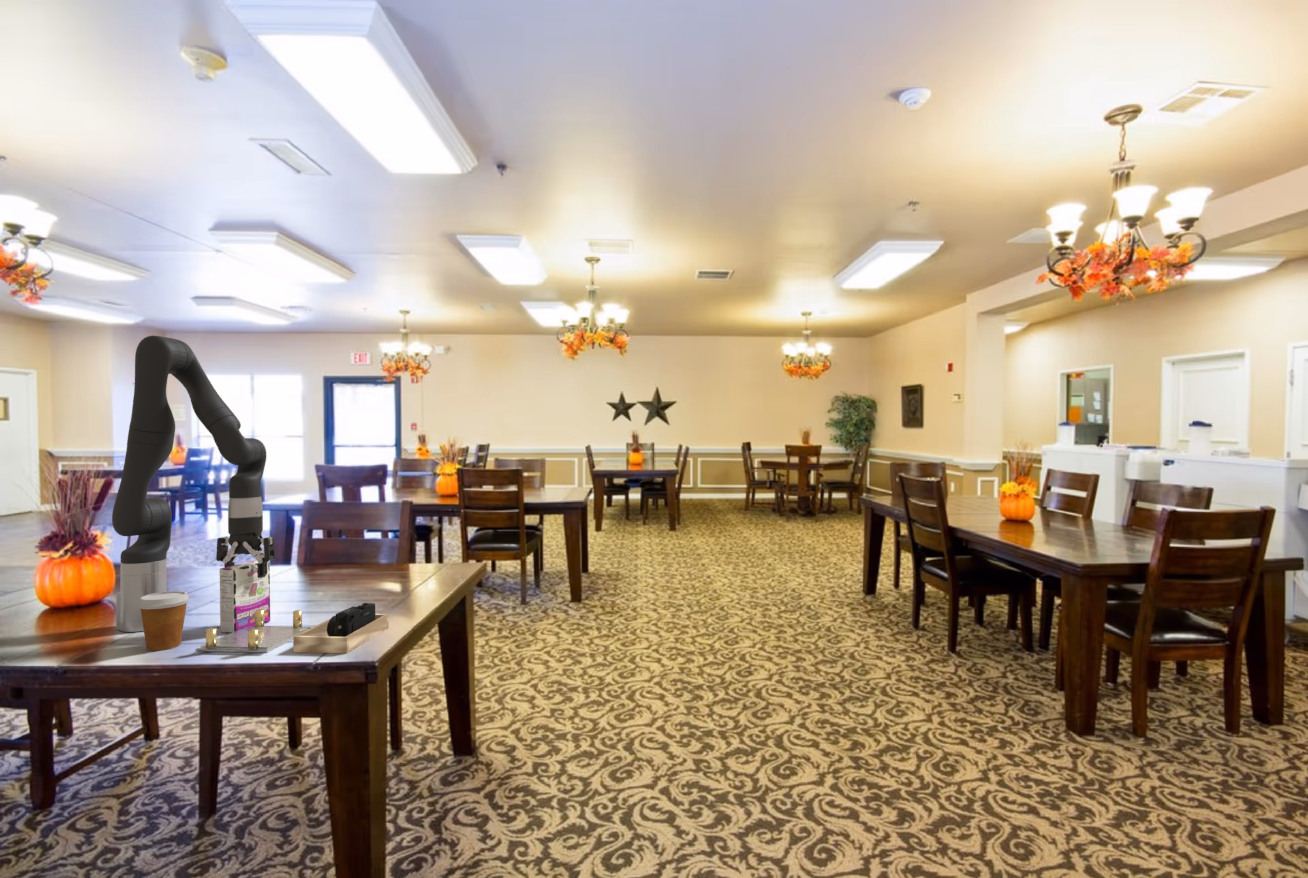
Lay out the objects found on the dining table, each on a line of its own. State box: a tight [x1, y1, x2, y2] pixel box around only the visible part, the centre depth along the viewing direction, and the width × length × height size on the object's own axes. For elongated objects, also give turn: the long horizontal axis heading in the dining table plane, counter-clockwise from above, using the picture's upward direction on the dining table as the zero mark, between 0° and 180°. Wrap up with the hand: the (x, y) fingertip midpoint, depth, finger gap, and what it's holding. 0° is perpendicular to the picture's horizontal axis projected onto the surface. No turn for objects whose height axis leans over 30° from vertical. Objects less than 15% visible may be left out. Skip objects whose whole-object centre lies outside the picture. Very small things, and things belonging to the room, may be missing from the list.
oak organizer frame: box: [292, 613, 390, 654], centre depth 151 cm, size 13×20×4 cm, turn 177°
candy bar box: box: [219, 559, 271, 634], centre depth 161 cm, size 11×5×16 cm, turn 168°
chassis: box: [194, 609, 312, 654], centre depth 150 cm, size 16×18×5 cm
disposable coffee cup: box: [138, 590, 190, 652], centre depth 146 cm, size 10×10×12 cm
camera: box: [327, 602, 376, 637], centre depth 152 cm, size 14×7×8 cm, turn 173°
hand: (246, 577), depth 161 cm, fingers open, 8 cm apart
